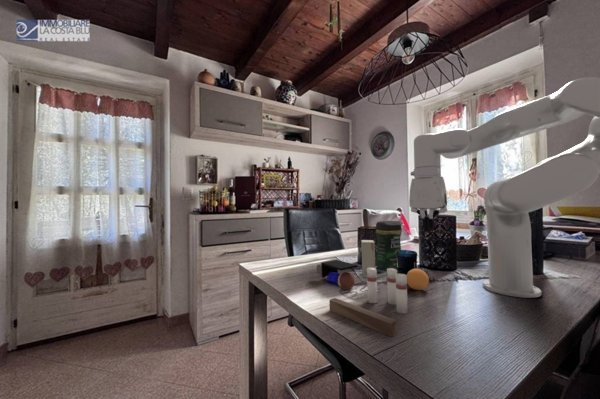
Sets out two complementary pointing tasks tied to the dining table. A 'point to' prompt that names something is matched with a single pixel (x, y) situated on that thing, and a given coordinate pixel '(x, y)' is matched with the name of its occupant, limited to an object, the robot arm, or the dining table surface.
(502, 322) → the dining table surface
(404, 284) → the pin
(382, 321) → the wooden bar
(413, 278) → the ball
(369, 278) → the pin
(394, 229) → the coffee jar
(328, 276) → the figurine character
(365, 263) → the skincare box
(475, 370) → the dining table surface
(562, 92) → the robot arm
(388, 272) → the front pin
